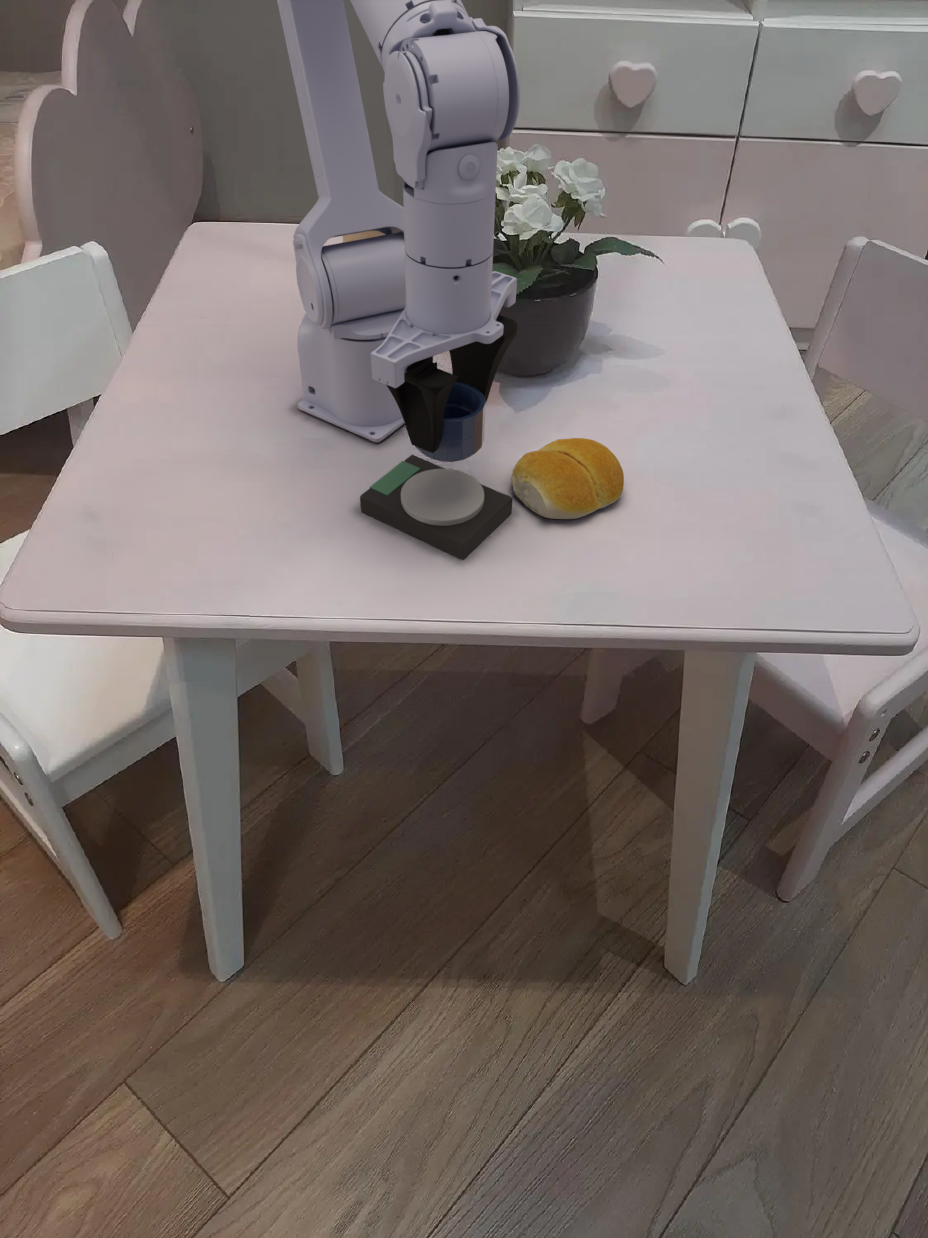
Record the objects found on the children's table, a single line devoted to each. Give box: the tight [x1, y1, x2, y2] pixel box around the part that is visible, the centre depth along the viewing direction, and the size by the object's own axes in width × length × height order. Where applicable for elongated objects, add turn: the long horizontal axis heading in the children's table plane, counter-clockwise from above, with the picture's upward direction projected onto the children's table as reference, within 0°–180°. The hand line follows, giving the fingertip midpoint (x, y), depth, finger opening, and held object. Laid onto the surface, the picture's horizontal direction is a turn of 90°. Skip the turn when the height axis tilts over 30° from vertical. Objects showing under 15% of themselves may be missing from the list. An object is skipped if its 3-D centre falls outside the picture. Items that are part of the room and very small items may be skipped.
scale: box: [359, 454, 514, 560], centre depth 75 cm, size 10×7×2 cm
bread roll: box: [510, 437, 625, 520], centre depth 77 cm, size 8×9×4 cm
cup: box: [414, 382, 487, 463], centre depth 70 cm, size 5×5×4 cm
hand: (447, 428), depth 70 cm, fingers closed on cup, 5 cm apart
